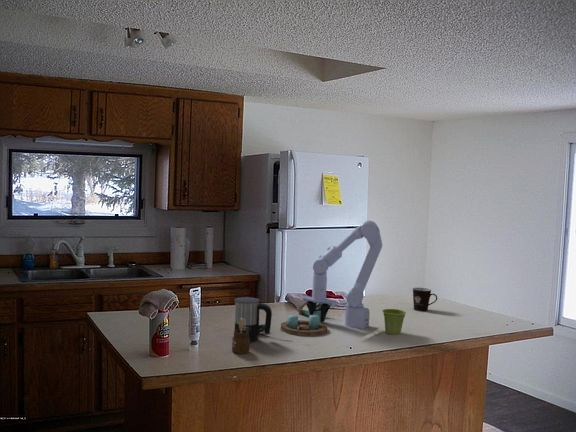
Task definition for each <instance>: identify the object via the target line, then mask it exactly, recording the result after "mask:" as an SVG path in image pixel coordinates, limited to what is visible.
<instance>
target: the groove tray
mask: <svg viewBox="0 0 576 432" xmlns="http://www.w3.org/2000/svg"><path fill="white" fill-rule="evenodd" d="M287 323H288V320H287V321H284V322H281V323H280V330H281V331H282V333H286V334H289V335H293V336H294V335H295V336H300V337H301V336H302V337H303V336H304V337H315V336H323V335H325V334H327V333H328V326H327V325H326V324H324V323H323V322H322V323H319V329H318V330H310V329H309V320H302V319H301V320H299V319H298V328H297V330H296V329H291V328H289V327H287Z"/></svg>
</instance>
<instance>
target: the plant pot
mask: <svg viewBox="0 0 576 432" xmlns="http://www.w3.org/2000/svg"><path fill="white" fill-rule="evenodd" d="M382 312H383V318H384V330H385V333H386V334H388V335H389V334H390V335H400V334H402V328H403V324H404V319H405V316H406V314H407V311H405V310H403V309H396V308H385V309H382Z"/></svg>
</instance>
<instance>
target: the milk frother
mask: <svg viewBox="0 0 576 432" xmlns="http://www.w3.org/2000/svg"><path fill="white" fill-rule="evenodd" d="M259 302H260V299H259V298H255V297H243V296H242V297H237V298H234V306H235V307H234V330H233V332H234V331H235V330H240V329H241V328H240V329H239V319H240V320H241V319H242V320H243V319H244V320H246V321H244V326H246V327H244V328H242V330H244V329H245V330H247V331H248V332H249V338H250V343H251V342H252V343H253V342H257V341H258V340H259V334H260V333H262V332H264V334H266V335H269V334H270V333H271V326H272V325H271V324H272V316H273V313H272V309H271V307H270V306H269V305H268V304H266V303H259ZM260 310H263V311H264V312H265V323H264V324H260ZM242 323H243V322H242ZM240 325H241V321H240Z"/></svg>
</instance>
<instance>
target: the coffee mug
mask: <svg viewBox="0 0 576 432" xmlns="http://www.w3.org/2000/svg"><path fill="white" fill-rule="evenodd" d="M431 296H434V297H435V300H434V301H433V302H431V303H430V298H431ZM412 298H413V299H412V300H413V311H416V312H428V310H429V306H431V305H433V304H435V303H436V302H437V301H438V296H437V294H436V293H432V289H431V288H427V287H417V286H416V287H413V288H412Z"/></svg>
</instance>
